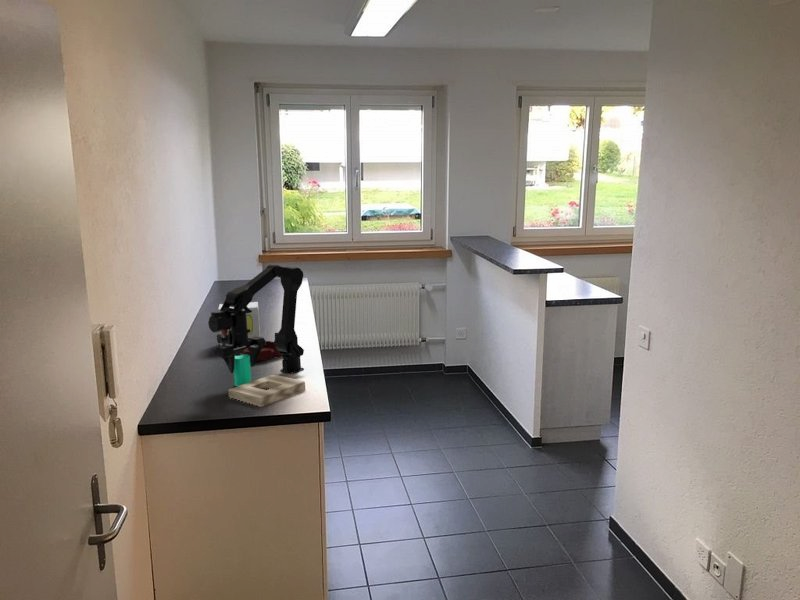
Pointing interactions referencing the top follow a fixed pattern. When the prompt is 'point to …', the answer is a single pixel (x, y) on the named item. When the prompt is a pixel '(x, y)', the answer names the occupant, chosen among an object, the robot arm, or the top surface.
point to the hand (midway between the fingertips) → (242, 369)
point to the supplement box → (248, 321)
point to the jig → (261, 396)
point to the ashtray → (266, 351)
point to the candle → (242, 370)
